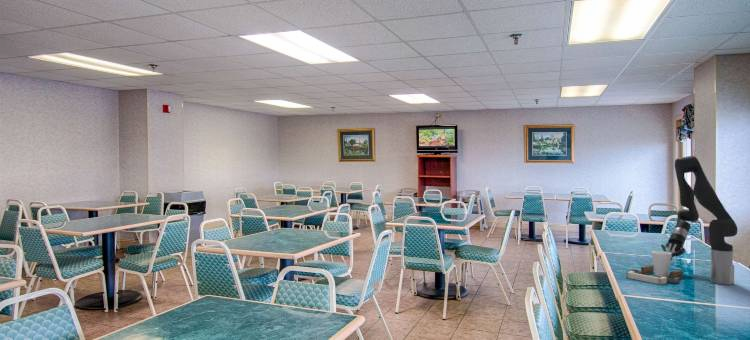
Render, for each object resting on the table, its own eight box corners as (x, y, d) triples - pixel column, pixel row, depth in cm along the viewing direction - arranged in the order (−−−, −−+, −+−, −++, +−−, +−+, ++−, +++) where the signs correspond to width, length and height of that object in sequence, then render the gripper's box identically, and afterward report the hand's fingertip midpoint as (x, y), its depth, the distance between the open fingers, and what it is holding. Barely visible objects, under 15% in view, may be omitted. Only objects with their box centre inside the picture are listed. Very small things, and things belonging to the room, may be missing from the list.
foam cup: (675, 278, 257) (675, 254, 256) (657, 277, 257) (658, 254, 256) (664, 273, 266) (664, 251, 266) (648, 273, 266) (648, 250, 266)
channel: (682, 277, 257) (682, 270, 257) (673, 280, 252) (673, 272, 251) (649, 271, 271) (649, 264, 271) (641, 274, 266) (641, 267, 266)
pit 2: (679, 282, 247) (679, 277, 247) (674, 283, 244) (674, 279, 244) (668, 280, 252) (668, 275, 252) (663, 281, 249) (663, 277, 249)
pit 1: (642, 275, 263) (642, 271, 263) (637, 276, 260) (637, 272, 259) (632, 273, 267) (632, 269, 267) (627, 274, 264) (627, 270, 264)
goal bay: (666, 282, 246) (666, 277, 246) (661, 284, 243) (661, 278, 243) (631, 276, 261) (631, 270, 261) (626, 277, 258) (626, 272, 258)
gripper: (664, 231, 276) (653, 254, 270) (689, 234, 266) (678, 258, 259) (668, 239, 280) (657, 262, 273) (693, 242, 269) (682, 266, 262)
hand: (667, 260), depth 266 cm, fingers closed
